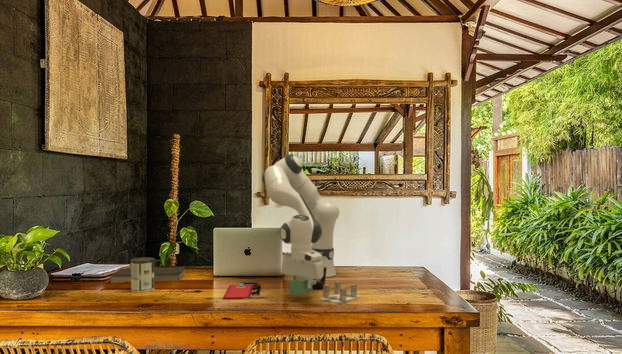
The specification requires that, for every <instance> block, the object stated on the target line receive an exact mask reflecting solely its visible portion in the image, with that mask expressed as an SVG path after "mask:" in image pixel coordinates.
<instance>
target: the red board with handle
mask: <svg viewBox="0 0 622 354" xmlns="http://www.w3.org/2000/svg"><path fill="white" fill-rule="evenodd" d="M259 282H260V281H247V282H246V281H241V282H240V283H239V284H230V285H228V288H226V289H227V290H226V292H225V293H224V295H223V296H222V300H246V299H245V298H250V299H251V297H252V296H255V295H256V296H257V295H259V296H260V293H261V291H262V284H260V283H259ZM253 287H254V288H253ZM252 290H253V291H252ZM260 290H261V291H260ZM251 294H252V295H251ZM243 298H244V299H243Z"/></svg>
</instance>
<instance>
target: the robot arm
mask: <svg viewBox="0 0 622 354" xmlns="http://www.w3.org/2000/svg"><path fill="white" fill-rule="evenodd" d="M261 181H262V184H263V185H264V187H265V188H266V191H267V194H268V196H269V198H270V200H271V201H272V202H274V203H275V204H277V205H279V206H280V205H281V206H284V207H288V208H291V209H293V210H294V211H296V212H297V213H298V214H296V215H292V217H291V219H290V220H289V221H286V222H284V223H282V225H281V227H280V228H279V235H280V236H279V237H280V239H281V241H282V242H283V243H284V244H288V245H291V246H290V248H291V249H290V252H287V251H286V252H284V253H283V254H282V262H281V273H282V274H283V275H288V276H290V278H291V280H293V279H297V277H298V278H300V277H305V278H307V280H308V283H307V284H306V288H308V289H310V288H311V283H312V281H313V279H321V278H322V277H323V265H324V266H327V269H326V278H328V277H329V278H330V277H335V276H337V273H336V269H335V263H334V256H335V255H334V254H335V249H334V231H335V225H336V221H337V220H338V218H339V215H340V208H339V207H338V206H337V205H336V204H335V203H333V202H332V201H327V200H325V199H323V197H321V195H320V194H319V191H318V187H316V185H315V183H313V182H312V180H311V179H310V178H309V177H308V175H306V173H305V171H303V163H302V161H301V159H300V158H299V157H298V156H297V155H296V154H292V153H291V154H290V153H289V154H287V155H286V156H284V157H283V158H281V159H279V160H278V161H276V162H275V163H274V164H273V165H270V166H269V167H267V168H266V169H265V171H264V173H263V174H261Z"/></svg>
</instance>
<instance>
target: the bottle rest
mask: <svg viewBox="0 0 622 354" xmlns="http://www.w3.org/2000/svg"><path fill="white" fill-rule="evenodd" d="M341 285H342V282H341V281H339V280H338V281H334V293H333V294H331V293H330V292H331V291H330V290H331V284H327V283H325V285H323V289H322V290H323V291H322V292H323V297H321V298H320V301H321V302H327V303H333V304H336V305H344V304H346V303H349V302H352V301H354V300H357V299H360V295H358V284H357V283H351V284H350V292H347V287H345V286H344V287H341Z"/></svg>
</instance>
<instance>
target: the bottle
mask: <svg viewBox="0 0 622 354" xmlns="http://www.w3.org/2000/svg"><path fill="white" fill-rule="evenodd" d="M307 283H308V280H307V278H305V277H298V278H297V277H296V279H293V280H292V279H291V280H289V281H288V291H289V292H288V294H289V295H292V296H296V297H297V296H298V297H299V296H303V295H306V294H309V293H312V292H313V289H312V285H315V284H316V280H313V281H312V283H311V288H310V289H308V288H306V284H307Z"/></svg>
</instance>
